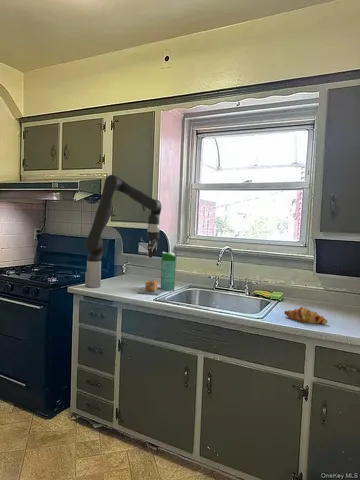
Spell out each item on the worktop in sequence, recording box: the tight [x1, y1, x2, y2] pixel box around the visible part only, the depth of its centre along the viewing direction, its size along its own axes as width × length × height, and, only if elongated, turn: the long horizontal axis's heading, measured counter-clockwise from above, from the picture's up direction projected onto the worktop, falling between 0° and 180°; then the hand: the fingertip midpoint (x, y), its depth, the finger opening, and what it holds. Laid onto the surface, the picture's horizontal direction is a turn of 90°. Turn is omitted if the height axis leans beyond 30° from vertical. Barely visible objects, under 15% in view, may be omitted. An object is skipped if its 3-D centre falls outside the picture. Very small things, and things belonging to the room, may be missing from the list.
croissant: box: [283, 306, 328, 325], centre depth 179 cm, size 21×10×8 cm, turn 58°
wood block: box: [144, 280, 158, 292], centre depth 227 cm, size 6×6×6 cm
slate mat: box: [137, 287, 164, 296], centre depth 228 cm, size 13×13×1 cm
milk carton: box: [160, 251, 177, 292], centre depth 239 cm, size 9×9×25 cm
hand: (152, 256), depth 226 cm, fingers open, 8 cm apart
